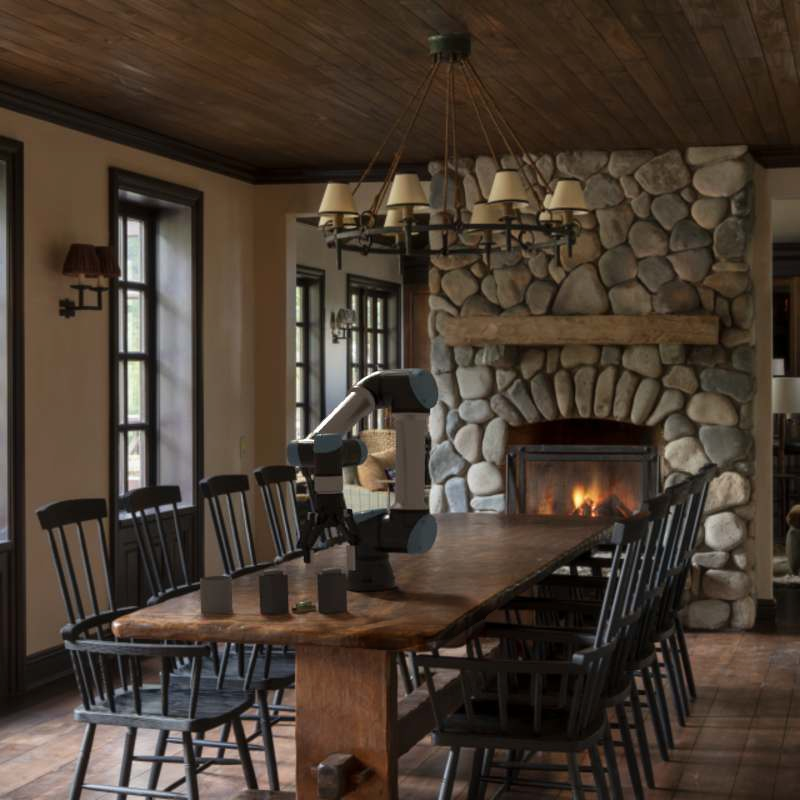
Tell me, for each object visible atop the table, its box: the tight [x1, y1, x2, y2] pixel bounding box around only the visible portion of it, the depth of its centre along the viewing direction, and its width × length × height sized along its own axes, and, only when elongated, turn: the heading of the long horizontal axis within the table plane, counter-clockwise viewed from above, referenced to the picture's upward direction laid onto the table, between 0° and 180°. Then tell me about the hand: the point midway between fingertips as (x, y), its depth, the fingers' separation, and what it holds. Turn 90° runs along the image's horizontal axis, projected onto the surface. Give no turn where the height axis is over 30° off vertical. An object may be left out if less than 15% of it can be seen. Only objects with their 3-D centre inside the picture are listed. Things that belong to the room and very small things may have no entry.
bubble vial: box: [291, 600, 317, 615], centre depth 345 cm, size 6×2×3 cm, turn 131°
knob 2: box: [316, 567, 348, 615], centre depth 344 cm, size 5×5×11 cm
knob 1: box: [258, 568, 290, 616], centre depth 345 cm, size 5×5×11 cm
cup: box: [199, 575, 234, 615], centre depth 350 cm, size 8×8×10 cm
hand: (330, 572), depth 343 cm, fingers open, 13 cm apart
